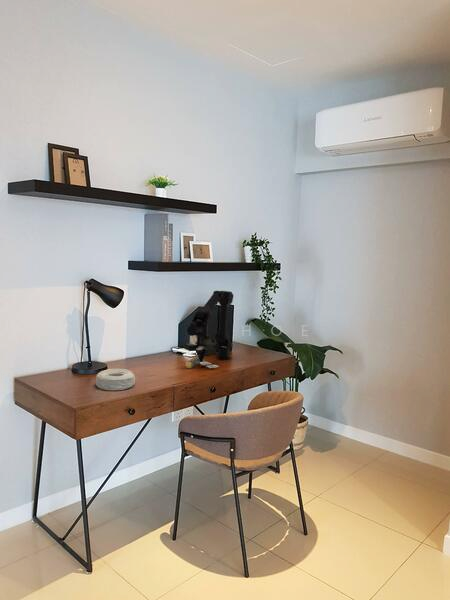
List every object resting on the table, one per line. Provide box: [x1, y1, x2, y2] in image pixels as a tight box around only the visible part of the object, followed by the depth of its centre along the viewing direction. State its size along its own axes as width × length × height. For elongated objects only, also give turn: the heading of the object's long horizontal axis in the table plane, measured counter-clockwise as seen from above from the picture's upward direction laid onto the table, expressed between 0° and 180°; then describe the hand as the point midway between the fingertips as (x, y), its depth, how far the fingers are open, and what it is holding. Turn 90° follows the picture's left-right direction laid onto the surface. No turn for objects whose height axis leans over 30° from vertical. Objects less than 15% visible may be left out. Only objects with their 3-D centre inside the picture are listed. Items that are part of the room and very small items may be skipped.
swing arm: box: [185, 355, 205, 369], centre depth 264 cm, size 18×4×4 cm, turn 160°
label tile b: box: [205, 364, 220, 369], centre depth 261 cm, size 6×4×1 cm, turn 126°
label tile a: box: [198, 361, 213, 366], centre depth 267 cm, size 6×4×1 cm, turn 126°
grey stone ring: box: [95, 368, 136, 391], centre depth 219 cm, size 18×18×6 cm
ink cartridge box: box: [189, 335, 197, 345], centre depth 289 cm, size 9×5×15 cm, turn 62°
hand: (201, 361), depth 261 cm, fingers closed
